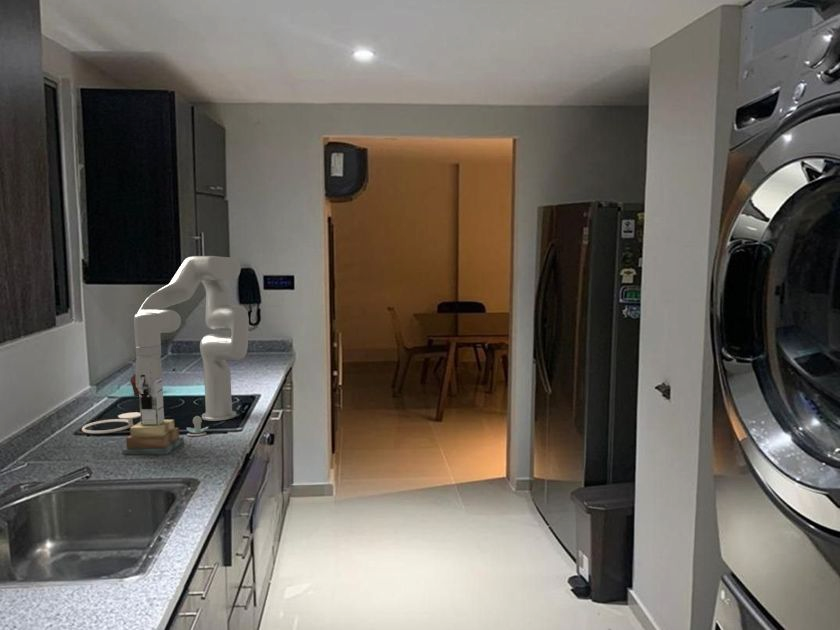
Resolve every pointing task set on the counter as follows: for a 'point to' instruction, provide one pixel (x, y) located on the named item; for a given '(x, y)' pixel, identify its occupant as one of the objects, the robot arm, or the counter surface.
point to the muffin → (134, 385)
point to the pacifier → (196, 427)
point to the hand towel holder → (122, 417)
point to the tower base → (153, 438)
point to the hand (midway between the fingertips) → (151, 405)
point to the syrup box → (154, 405)
